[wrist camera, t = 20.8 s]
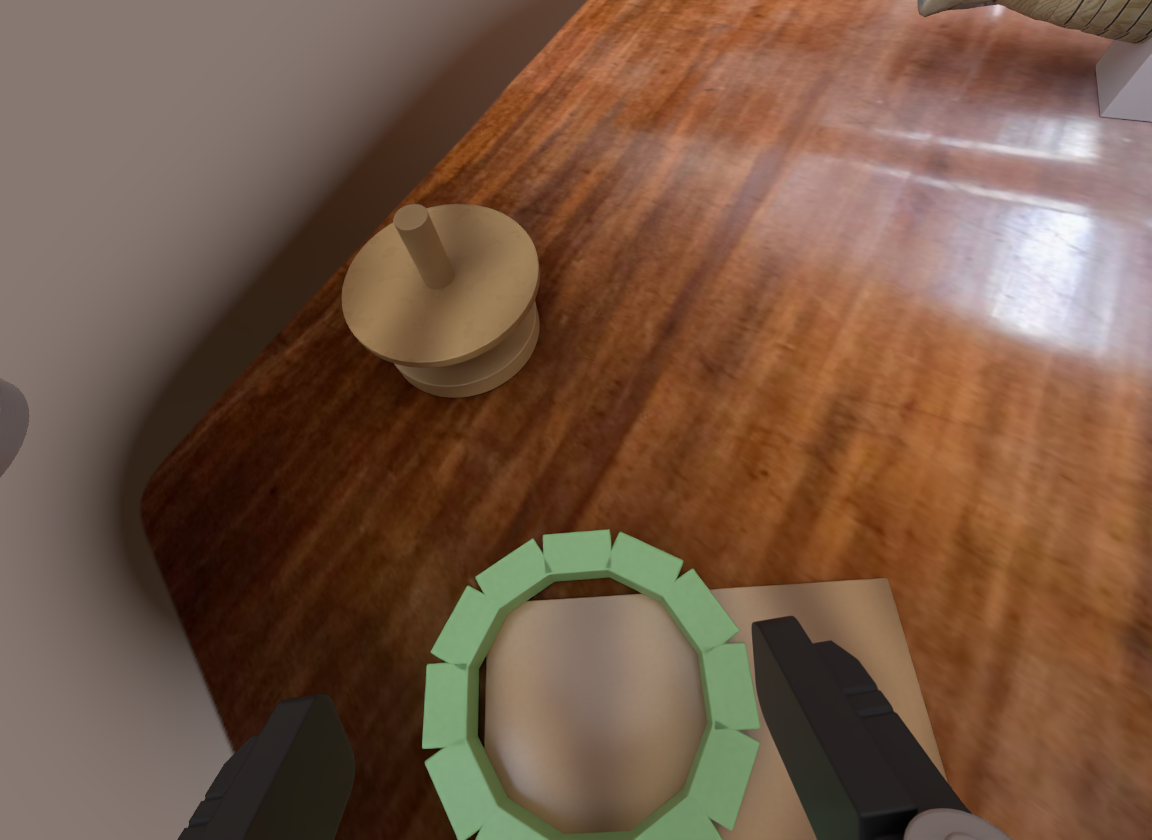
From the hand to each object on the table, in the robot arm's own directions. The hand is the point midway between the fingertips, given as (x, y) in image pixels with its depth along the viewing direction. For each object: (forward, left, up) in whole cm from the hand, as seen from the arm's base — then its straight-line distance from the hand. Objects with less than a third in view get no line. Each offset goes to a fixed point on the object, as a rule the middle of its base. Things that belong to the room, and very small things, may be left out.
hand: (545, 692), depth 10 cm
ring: (-1, 0, -16) cm, 16 cm away
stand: (-8, +22, -18) cm, 29 cm away
